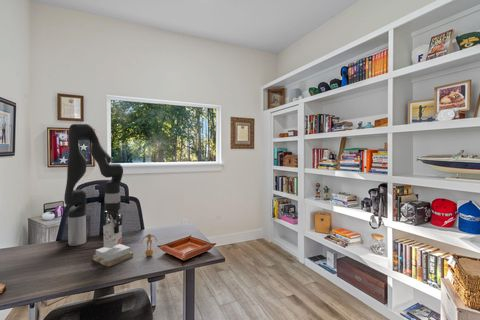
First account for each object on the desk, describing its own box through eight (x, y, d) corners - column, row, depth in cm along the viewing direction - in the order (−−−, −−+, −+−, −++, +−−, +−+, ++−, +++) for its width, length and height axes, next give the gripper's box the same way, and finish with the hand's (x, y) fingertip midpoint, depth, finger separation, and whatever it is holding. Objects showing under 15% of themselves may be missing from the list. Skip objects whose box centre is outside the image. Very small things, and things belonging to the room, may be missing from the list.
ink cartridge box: (114, 241, 138) (114, 215, 137) (122, 242, 137) (122, 216, 136) (103, 247, 130) (102, 219, 129) (111, 248, 129) (111, 220, 128)
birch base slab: (93, 261, 132) (92, 255, 132) (117, 251, 144) (117, 246, 143) (108, 268, 124) (108, 262, 124) (133, 257, 136) (133, 252, 136)
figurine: (140, 258, 134) (140, 236, 133) (141, 253, 140) (141, 232, 139) (157, 256, 137) (157, 235, 136) (157, 252, 142) (157, 231, 142)
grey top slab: (95, 255, 132) (95, 250, 132) (117, 247, 142) (116, 242, 142) (108, 261, 126) (108, 255, 125) (130, 252, 136) (130, 247, 136)
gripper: (98, 200, 133) (98, 231, 134) (113, 204, 125) (114, 236, 126) (111, 198, 139) (111, 227, 140) (127, 201, 132) (127, 232, 133)
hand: (112, 231), depth 133 cm, fingers closed on ink cartridge box, 6 cm apart
